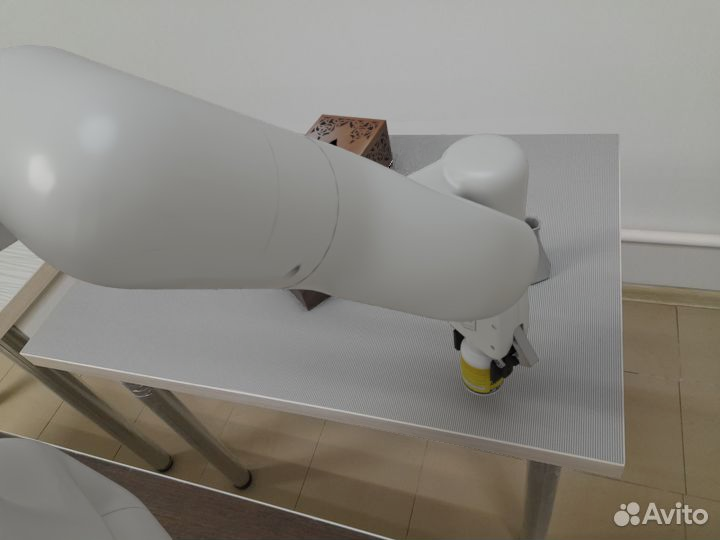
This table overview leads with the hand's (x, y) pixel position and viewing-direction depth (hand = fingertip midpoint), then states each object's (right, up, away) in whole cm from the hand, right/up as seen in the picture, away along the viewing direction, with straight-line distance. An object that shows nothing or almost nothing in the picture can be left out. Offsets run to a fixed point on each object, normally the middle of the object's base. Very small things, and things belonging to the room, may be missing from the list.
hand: (482, 357), depth 64 cm
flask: (+12, +11, +19) cm, 25 cm away
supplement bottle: (+1, -3, +4) cm, 5 cm away
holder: (-25, +10, +28) cm, 39 cm away
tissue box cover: (-20, +25, +40) cm, 52 cm away
